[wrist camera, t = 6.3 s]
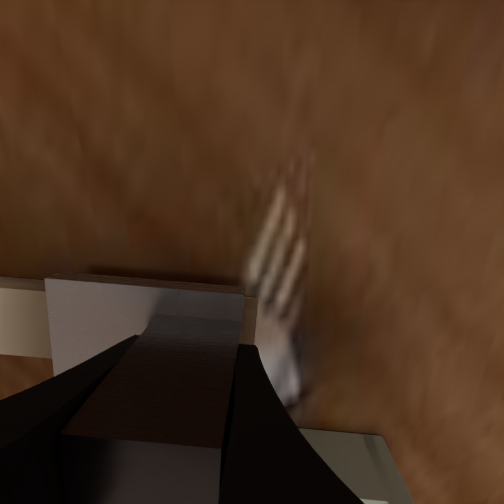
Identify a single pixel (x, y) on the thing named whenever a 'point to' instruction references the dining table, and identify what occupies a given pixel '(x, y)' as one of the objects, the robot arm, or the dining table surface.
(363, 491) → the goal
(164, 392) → the slider
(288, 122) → the dining table surface
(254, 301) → the rail
